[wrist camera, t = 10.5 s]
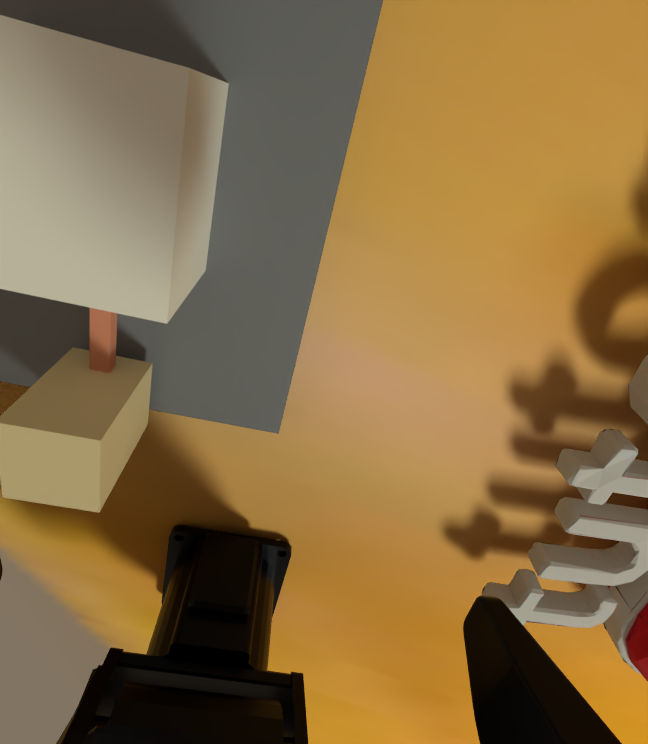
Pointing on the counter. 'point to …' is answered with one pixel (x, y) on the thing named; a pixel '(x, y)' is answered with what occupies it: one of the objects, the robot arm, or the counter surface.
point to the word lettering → (595, 566)
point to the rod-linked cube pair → (97, 238)
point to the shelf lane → (225, 196)
